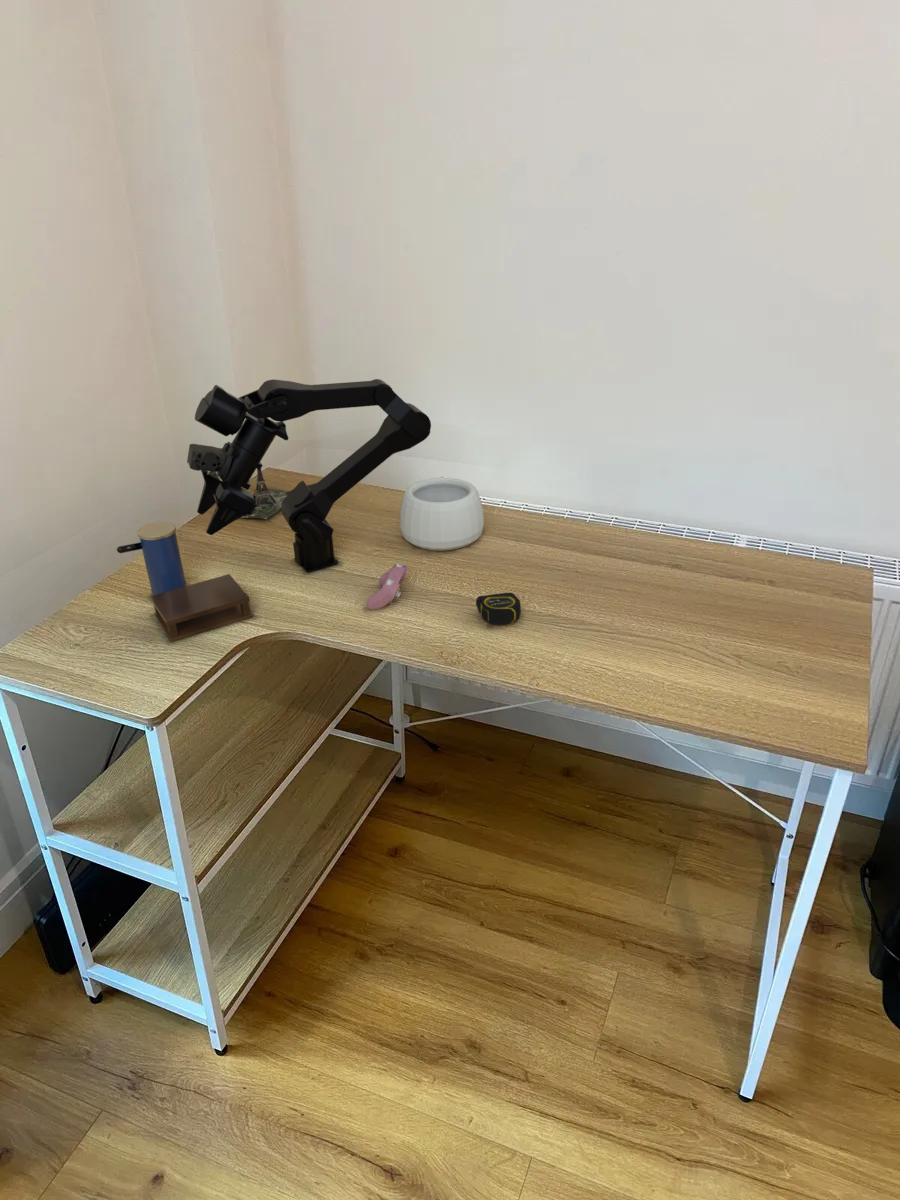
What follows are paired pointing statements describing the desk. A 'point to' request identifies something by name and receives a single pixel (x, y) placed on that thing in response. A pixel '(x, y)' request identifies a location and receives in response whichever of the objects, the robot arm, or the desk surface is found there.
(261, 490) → the eiffel tower figurine
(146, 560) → the blue cylinder
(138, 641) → the desk surface
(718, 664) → the desk surface
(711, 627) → the desk surface
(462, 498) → the white round bowl
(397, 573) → the video game controller
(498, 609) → the tape measure
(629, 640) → the desk surface
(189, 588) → the rack
